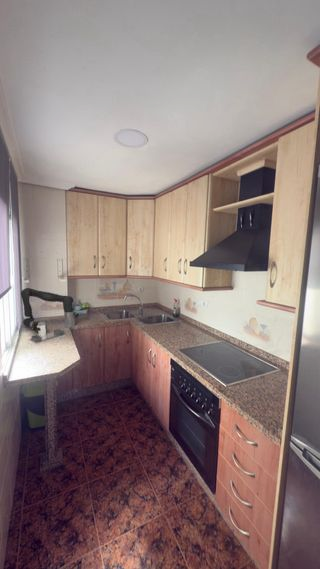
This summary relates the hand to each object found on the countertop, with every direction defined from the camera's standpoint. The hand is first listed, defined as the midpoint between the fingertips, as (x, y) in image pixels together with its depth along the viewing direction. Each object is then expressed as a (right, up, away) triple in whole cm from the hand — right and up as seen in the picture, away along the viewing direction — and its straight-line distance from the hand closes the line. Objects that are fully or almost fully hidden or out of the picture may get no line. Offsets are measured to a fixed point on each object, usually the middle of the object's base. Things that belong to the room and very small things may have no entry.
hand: (43, 328), depth 229 cm
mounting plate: (+8, -8, -6) cm, 12 cm away
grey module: (-2, -6, +3) cm, 7 cm away
